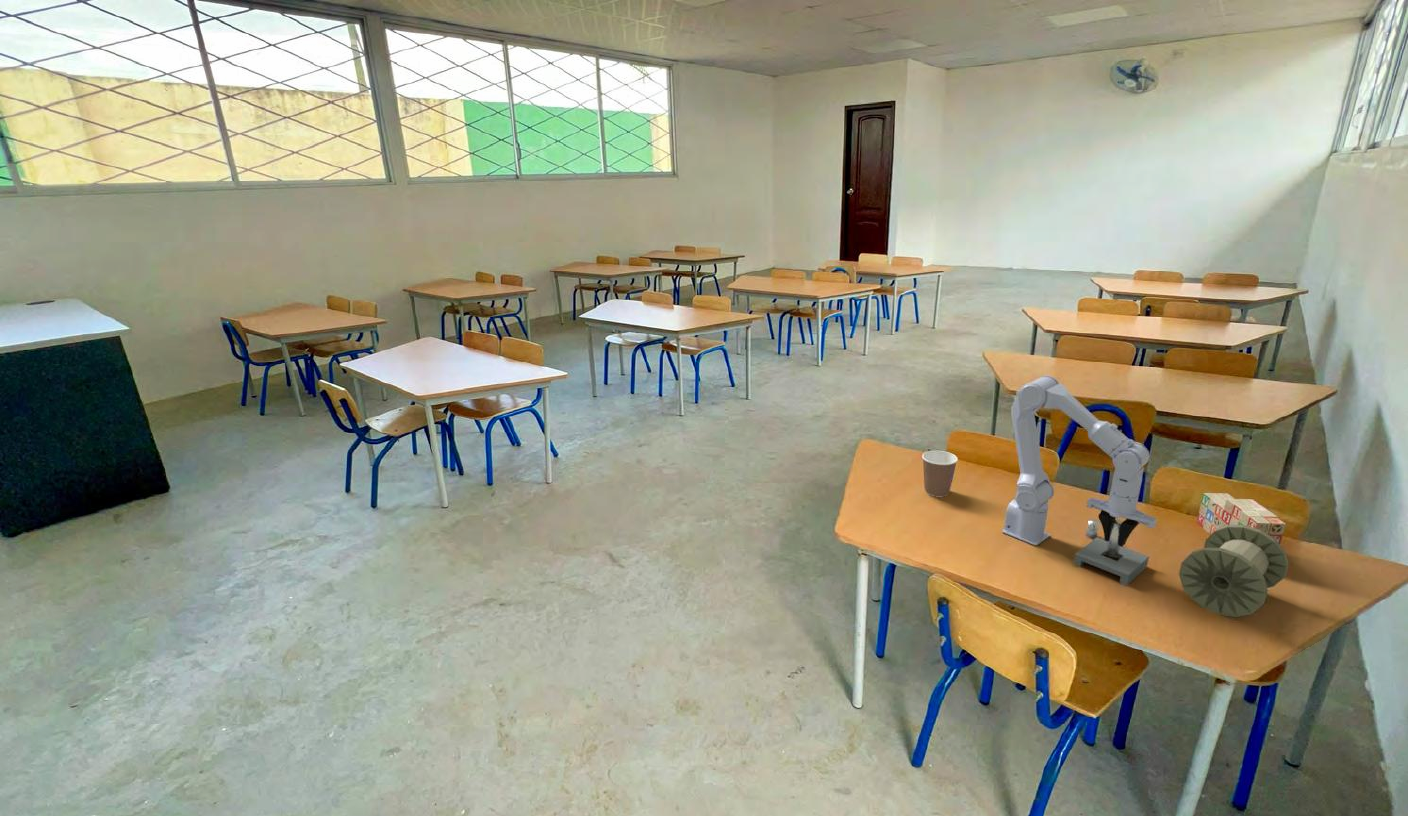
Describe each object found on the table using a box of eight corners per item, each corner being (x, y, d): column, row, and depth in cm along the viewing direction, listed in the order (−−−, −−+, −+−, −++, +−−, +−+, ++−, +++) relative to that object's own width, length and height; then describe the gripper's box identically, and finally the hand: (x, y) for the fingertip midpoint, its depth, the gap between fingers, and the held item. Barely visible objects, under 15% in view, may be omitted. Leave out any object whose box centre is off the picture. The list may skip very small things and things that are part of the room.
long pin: (1103, 553, 159) (1109, 522, 156) (1109, 550, 160) (1115, 519, 157) (1114, 558, 157) (1120, 526, 154) (1120, 555, 158) (1126, 523, 155)
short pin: (1084, 535, 173) (1086, 521, 172) (1088, 532, 175) (1091, 518, 173) (1094, 539, 171) (1097, 525, 170) (1098, 536, 173) (1101, 521, 171)
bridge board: (1073, 564, 161) (1075, 553, 160) (1094, 547, 168) (1096, 537, 167) (1126, 585, 152) (1128, 575, 151) (1146, 566, 159) (1149, 556, 158)
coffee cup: (959, 499, 195) (963, 463, 191) (925, 500, 195) (928, 464, 191) (947, 484, 205) (950, 449, 201) (915, 485, 205) (917, 451, 201)
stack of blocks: (1195, 522, 178) (1205, 482, 173) (1220, 523, 177) (1230, 483, 172) (1245, 566, 158) (1257, 522, 153) (1273, 567, 157) (1287, 523, 153)
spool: (1200, 569, 157) (1213, 515, 152) (1278, 598, 146) (1296, 541, 141) (1173, 596, 148) (1187, 539, 143) (1254, 629, 136) (1272, 568, 131)
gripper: (1084, 487, 156) (1076, 536, 161) (1152, 509, 145) (1141, 560, 150) (1097, 479, 160) (1089, 526, 165) (1164, 499, 149) (1153, 549, 154)
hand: (1114, 542), depth 158 cm, fingers closed on long pin, 3 cm apart
